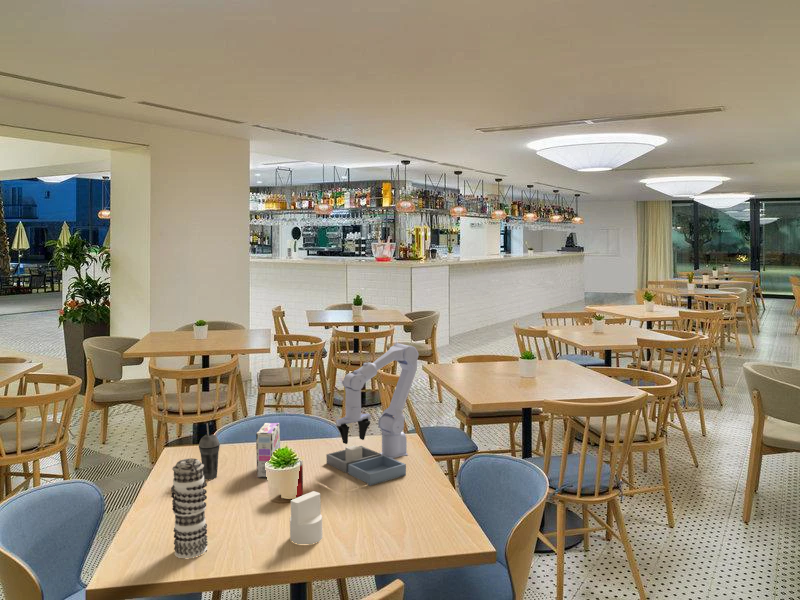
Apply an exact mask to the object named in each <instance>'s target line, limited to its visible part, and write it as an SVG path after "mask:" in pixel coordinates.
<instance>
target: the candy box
mask: <svg viewBox="0 0 800 600" xmlns="http://www.w3.org/2000/svg"><path fill="white" fill-rule="evenodd" d="M280 431H281V429H280V422H265V423H263V425H262V426H261V427H260V428H259V430H258V431H257V432H256V434H255V437H256V438H255V440H256V442H255V443H256V444H255V445H256V446H255V447H256V449H255V450H256V478H258V479H259V478H264V479H265V478H266V470H265V463H266V462H267V461H269V460H270V458H271V456H272V454H273V452H274V451H275V450H276V449H278V448H280V449H281V433H280Z"/></svg>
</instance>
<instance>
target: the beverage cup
mask: <svg viewBox="0 0 800 600" xmlns="http://www.w3.org/2000/svg"><path fill="white" fill-rule="evenodd" d="M209 430H210V429H209V423H208V422H207V423H206V431H207V432H206V434H205V435H204V436H202V437H201V438H200V440H199V443H198V448H199V453H200V458H201V459H200V462H201V463H203V464H204V467H203V475H204V478H206V479H205V480H207V479H210V480H214V478H215V479H216V478H217V477H218V469H219V468H218V467H219V451H220V447H221V444H220V440H219V437H217V435H215V434H211V433H210V431H209Z"/></svg>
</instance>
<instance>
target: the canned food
mask: <svg viewBox="0 0 800 600" xmlns="http://www.w3.org/2000/svg"><path fill="white" fill-rule="evenodd" d="M298 460H299V461H300V471H299V479H298V486H297V495H296V497H297V498H298V497H300V496H302V495H304V478H303V477H304V474H303V473H304V472H303V471H304V470H303V461H302V460H300V459H298Z"/></svg>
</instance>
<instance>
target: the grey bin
mask: <svg viewBox="0 0 800 600" xmlns="http://www.w3.org/2000/svg"><path fill="white" fill-rule="evenodd" d="M358 446H359V447H361V448H362V458H361V459H357V460H353V461H350V462H346V451H345V449H343V450H339V451H333V452H330V453H327V454H326V464H327V465H329V466H331V467H333V468H335V469H337V470H339V471H341V472H343V473H346V474H348V464H352V463H356V462H360V461H363V460H367V459H371V458H375V457H378V456H381V454H380V453H381V452H377V451H375V450H373V449H370V448H367V447H366V446H364V445H358Z"/></svg>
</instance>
